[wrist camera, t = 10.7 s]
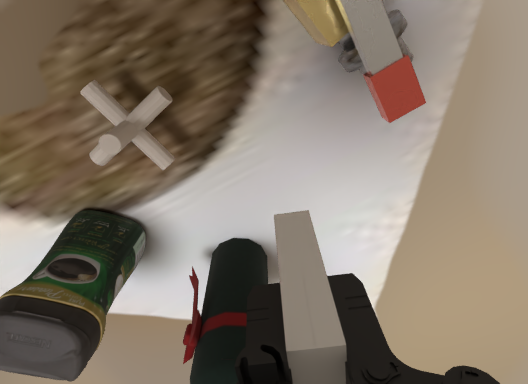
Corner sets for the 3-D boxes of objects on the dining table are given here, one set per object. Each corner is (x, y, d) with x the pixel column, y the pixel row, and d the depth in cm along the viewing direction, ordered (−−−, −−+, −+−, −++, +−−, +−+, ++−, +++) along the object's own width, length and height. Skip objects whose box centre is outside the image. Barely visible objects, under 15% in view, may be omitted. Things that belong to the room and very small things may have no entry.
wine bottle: (203, 226, 43) (116, 557, 16) (275, 246, 45) (303, 574, 18) (189, 270, 46) (98, 604, 20) (257, 287, 48) (257, 615, 21)
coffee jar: (71, 249, 44) (-40, 382, 28) (75, 200, 41) (-47, 320, 24) (143, 266, 46) (78, 402, 29) (152, 221, 42) (87, 346, 26)
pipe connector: (80, 109, 36) (22, 137, 27) (141, 45, 33) (98, 53, 24) (150, 172, 39) (119, 216, 30) (210, 120, 36) (195, 151, 28)
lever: (292, -56, 22) (295, -62, 20) (352, -100, 21) (360, -110, 19) (374, 121, 28) (381, 127, 26) (424, 93, 27) (434, 97, 25)
